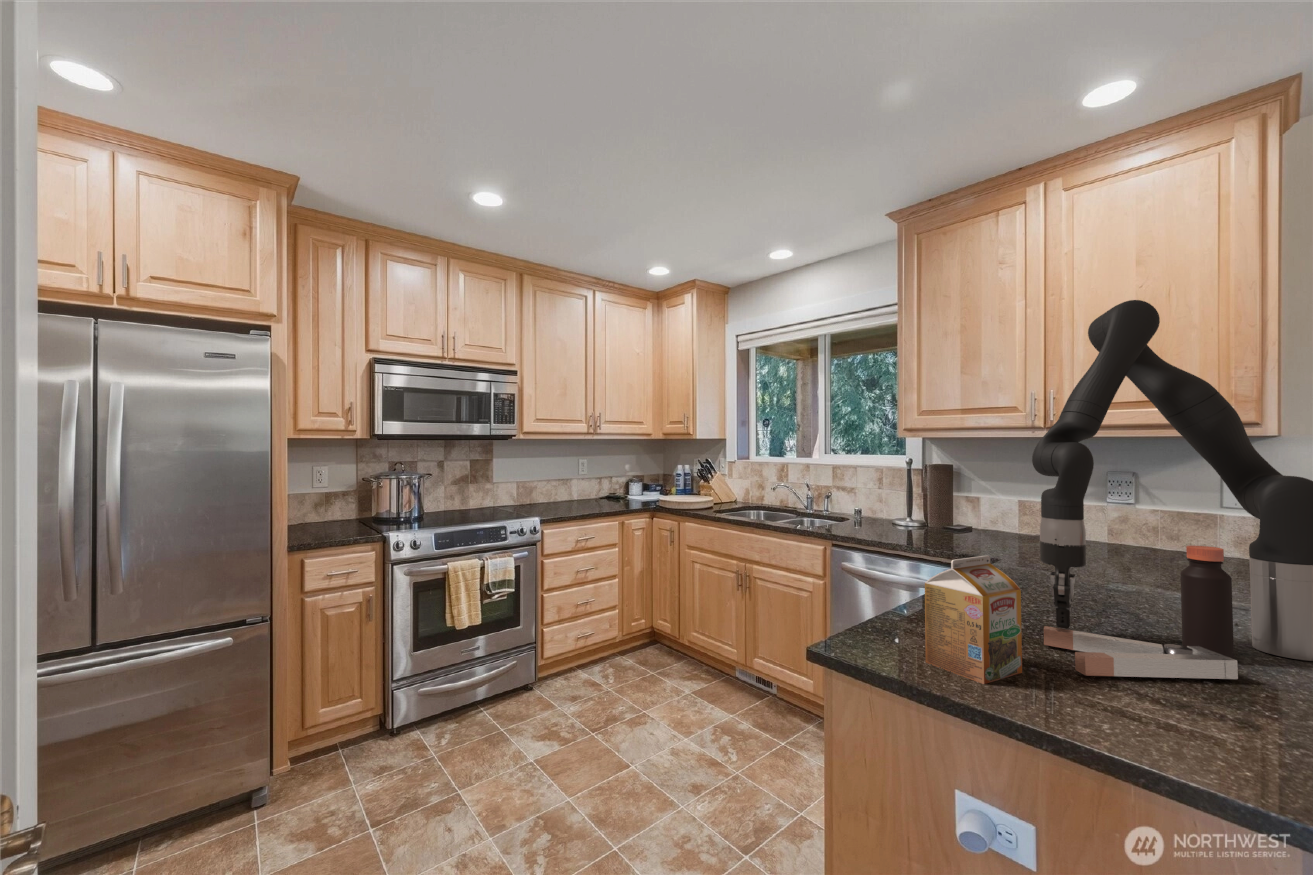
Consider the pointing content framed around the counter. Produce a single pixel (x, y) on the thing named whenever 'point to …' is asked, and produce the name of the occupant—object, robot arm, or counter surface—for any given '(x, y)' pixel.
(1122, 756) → the counter surface
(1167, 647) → the leg
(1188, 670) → the tongs fixed leg
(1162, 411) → the robot arm
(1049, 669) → the counter surface
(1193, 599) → the bottle
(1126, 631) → the counter surface
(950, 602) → the milk carton
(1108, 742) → the counter surface
